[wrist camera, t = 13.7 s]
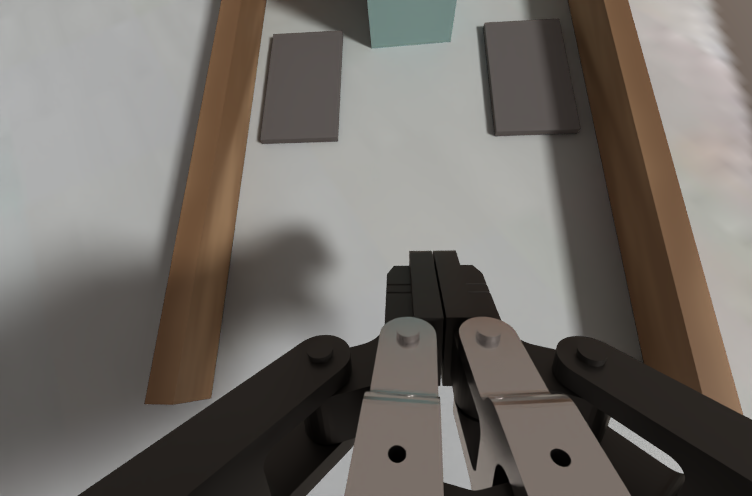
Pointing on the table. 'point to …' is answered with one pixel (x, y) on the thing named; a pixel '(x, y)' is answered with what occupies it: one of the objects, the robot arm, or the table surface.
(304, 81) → the trap pads
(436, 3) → the block
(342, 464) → the table surface
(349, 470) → the robot arm
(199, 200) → the lane box
